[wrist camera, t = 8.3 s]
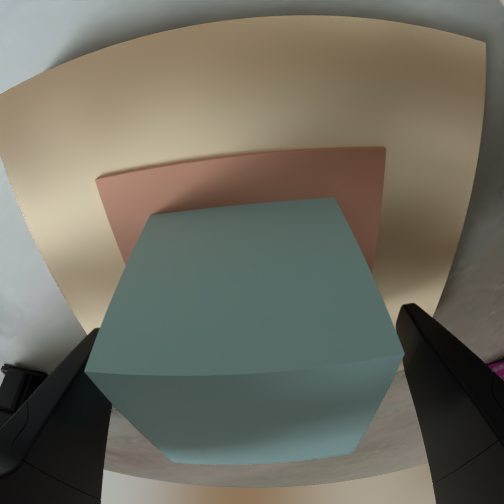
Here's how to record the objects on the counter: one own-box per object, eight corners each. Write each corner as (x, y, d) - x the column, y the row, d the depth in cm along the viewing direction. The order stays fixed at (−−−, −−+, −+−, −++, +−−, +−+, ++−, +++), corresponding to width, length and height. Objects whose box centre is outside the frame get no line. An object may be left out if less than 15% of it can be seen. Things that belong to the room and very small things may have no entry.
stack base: (394, 328, 18) (410, 371, 15) (137, 349, 18) (126, 392, 16) (438, 37, 8) (489, 43, 6) (32, 85, 9) (-18, 104, 6)
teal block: (326, 323, 12) (351, 453, 8) (189, 333, 12) (173, 462, 8) (334, 197, 9) (404, 354, 5) (149, 215, 9) (84, 371, 5)
